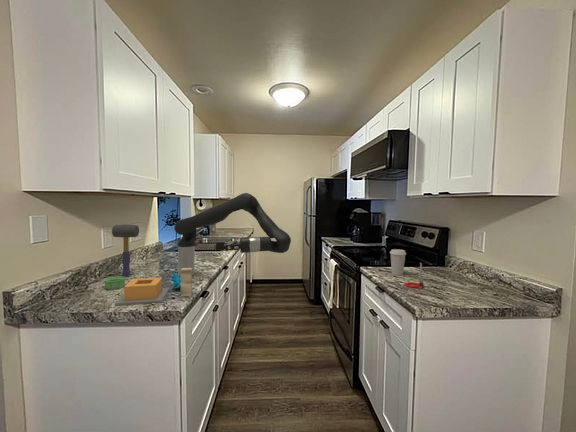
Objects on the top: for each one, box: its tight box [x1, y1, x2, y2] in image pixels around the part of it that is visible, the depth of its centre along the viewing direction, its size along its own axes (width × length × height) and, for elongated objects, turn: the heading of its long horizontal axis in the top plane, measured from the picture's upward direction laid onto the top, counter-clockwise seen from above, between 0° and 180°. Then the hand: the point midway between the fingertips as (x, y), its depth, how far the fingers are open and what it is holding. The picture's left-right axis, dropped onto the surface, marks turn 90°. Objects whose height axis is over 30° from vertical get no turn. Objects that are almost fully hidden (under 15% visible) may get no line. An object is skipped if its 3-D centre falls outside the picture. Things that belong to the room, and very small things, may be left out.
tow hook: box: [403, 262, 425, 290], centre depth 148 cm, size 8×13×9 cm
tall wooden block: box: [180, 268, 193, 297], centre depth 129 cm, size 4×4×12 cm
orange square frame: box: [114, 277, 170, 307], centre depth 125 cm, size 18×18×7 cm
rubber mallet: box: [111, 224, 140, 278], centre depth 159 cm, size 12×8×30 cm, turn 98°
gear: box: [170, 273, 181, 290], centre depth 138 cm, size 11×6×10 cm
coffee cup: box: [389, 248, 407, 276], centre depth 173 cm, size 10×10×15 cm
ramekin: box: [104, 275, 126, 290], centre depth 139 cm, size 9×9×4 cm
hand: (215, 246), depth 131 cm, fingers open, 8 cm apart
